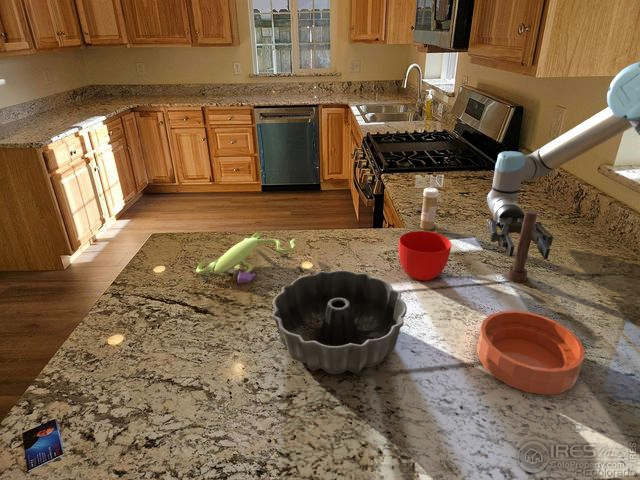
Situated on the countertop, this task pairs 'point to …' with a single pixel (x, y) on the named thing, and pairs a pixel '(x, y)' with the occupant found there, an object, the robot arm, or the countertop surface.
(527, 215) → the wooden pestle
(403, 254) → the ceramic cup
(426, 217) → the sprinkles bottle
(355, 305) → the bundt pan
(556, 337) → the bowl
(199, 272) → the figurine
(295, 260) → the countertop surface
